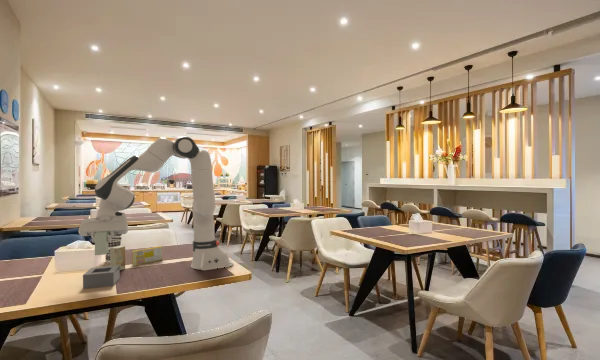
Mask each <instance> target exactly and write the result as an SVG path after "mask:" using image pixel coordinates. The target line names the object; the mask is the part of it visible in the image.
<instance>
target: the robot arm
mask: <svg viewBox="0 0 600 360" xmlns="http://www.w3.org/2000/svg"><path fill="white" fill-rule="evenodd" d="M172 156H174V157H176V158H180V159H188V160H189V163H190V171H191V174H190V175H191V188H192V196H193V200H192V204H191V205H192V226H193V227H192V228H193V240H192V252H193V253H192V261H191V265H190V268H191V269H194V270H201V271H210V270H217V268H218V269H224V267H225V268H231V267H232V266H233V265H234V262H233V260H231V259H230V257H229V254H228V252H227V251H226V250H224V249H223V248H222V247H220V246H219V245H221V244H220V241H219V240H217V239H216V238H215V218H214V212H215V210H216V207H217V206H216V196H215V188H214V179H213V167H212V159H211V155H210V153H209V151H207V150H205V149H200V148H199V146H198V145H197V143H196V142H195V141H194V140H193V138H192V137H189V136H185V135H183V136H182V135H181V136H179V137H178V138H177V139H176V140H174V141H172V140H170V138H166V137H158V138H157V139H156V140H155V141H154V142H152V144H151V145H150V146H148V148H147V149H146V150H145V151H144V152H143V153H141V154H139V155H132V156H131V157H129V158H128V159H126V160H125V161H123V162H122V163H121V164H120V165H119V166H118V167H117V168H115V169H114V170H112V172H110V173H109V174H108V175H107V176H105V177H104V178H102V179H101V180H99V181H98V182H97V184H96V185H95V186H94V193H95V196H96V197H97V198H99V199H100V202H99V209H98V210H97V211H96V216H95V217H93V218H84V219H82V220H80V221H81V222H80V226H79V228H78V235H79V236H81V237H89V236H90V237H91V243H94V244H95V233H96V232H108V235H110V236H109V237H107V239H106V241H107V242H110V241H111V239H112V238H113V237H114V235H115V234H122V235H126V234H127V233H128V232H129V231H128V230H129V225H128V219H127V215H126V213H125V212H122V211H124V210H127V209H129V208H131V207H132V206H133V205H134V203H135V197H136V195H135V192H133V191H131V190H130V189H128V188H127V187H125V186H122V185H121V184H119V183H118V182H119V181H120V180H121V179H122V178H124V176H126V175H127V174H129V172H131V171H142V172H147V173H155V172H158V171H159V170H160V169H161V168H162V167H163V166H164V165H165V164H166V162H167V161H168V160H169V159H170V158H171V157H172ZM230 266H231V267H230Z"/></svg>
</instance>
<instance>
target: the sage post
mask: <svg viewBox="0 0 600 360" xmlns="http://www.w3.org/2000/svg"><path fill="white" fill-rule="evenodd" d="M107 237H108V232H96V233H95V237H94V238H95V243H94V255H95V256H104V255H106V254H107V253H108V242H107V241H106V239H107Z"/></svg>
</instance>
